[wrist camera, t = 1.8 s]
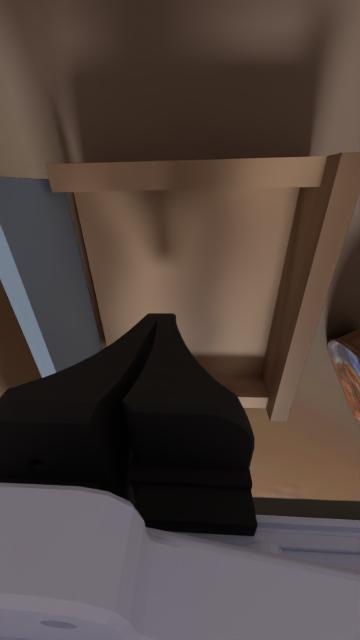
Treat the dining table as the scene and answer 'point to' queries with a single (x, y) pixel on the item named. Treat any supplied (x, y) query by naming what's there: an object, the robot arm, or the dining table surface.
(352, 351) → the tin
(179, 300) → the light wood shallow box
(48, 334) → the panel
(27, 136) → the dining table surface
